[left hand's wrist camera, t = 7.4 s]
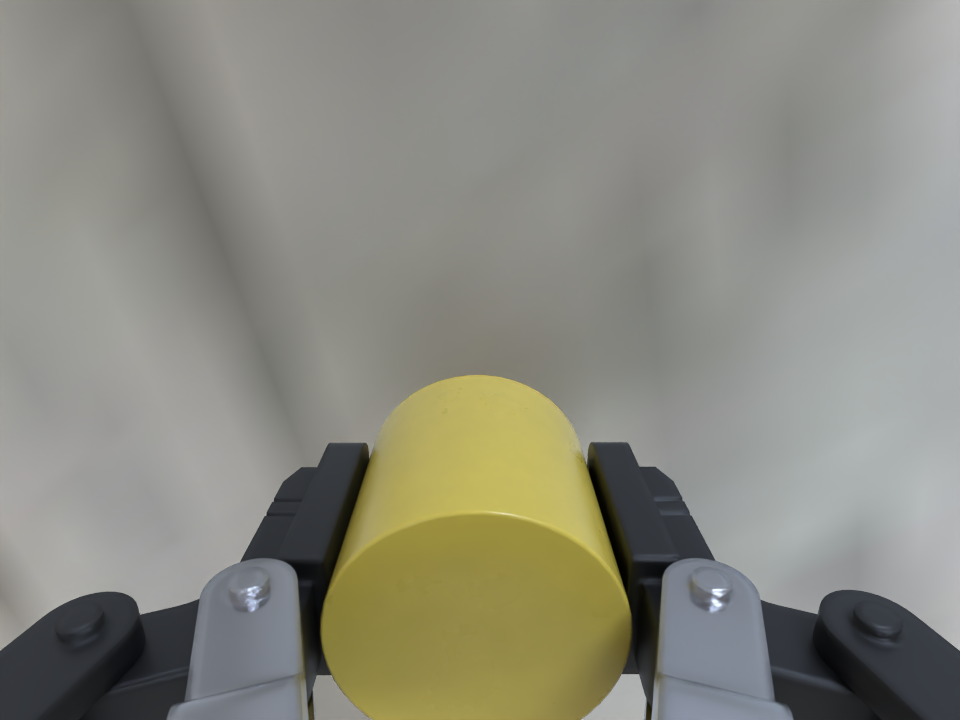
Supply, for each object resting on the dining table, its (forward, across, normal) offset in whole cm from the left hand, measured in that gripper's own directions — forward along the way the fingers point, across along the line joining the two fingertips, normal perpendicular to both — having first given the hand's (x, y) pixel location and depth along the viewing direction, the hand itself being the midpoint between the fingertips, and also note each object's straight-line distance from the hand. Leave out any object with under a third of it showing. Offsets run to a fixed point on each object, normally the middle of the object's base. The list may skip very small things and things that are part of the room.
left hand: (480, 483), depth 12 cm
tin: (+1, 0, 0) cm, 1 cm away
